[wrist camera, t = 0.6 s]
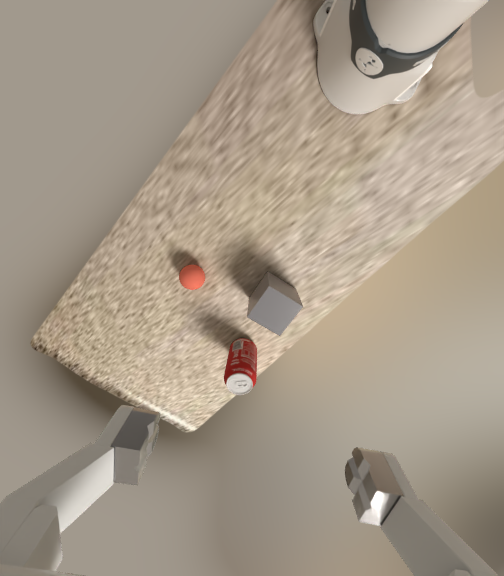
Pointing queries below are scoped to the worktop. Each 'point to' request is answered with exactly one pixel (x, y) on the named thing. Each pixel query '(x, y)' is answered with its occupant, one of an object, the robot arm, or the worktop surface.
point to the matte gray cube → (274, 304)
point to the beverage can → (241, 366)
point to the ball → (192, 277)
